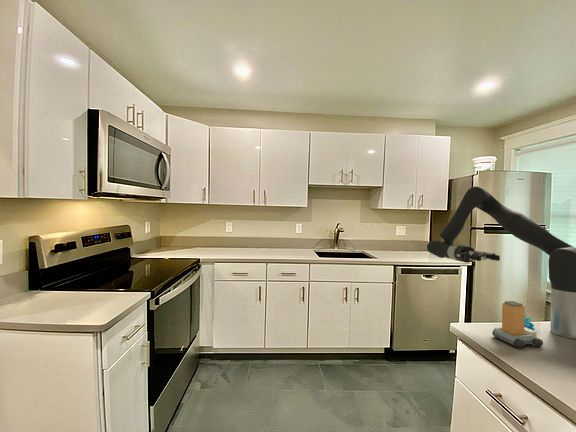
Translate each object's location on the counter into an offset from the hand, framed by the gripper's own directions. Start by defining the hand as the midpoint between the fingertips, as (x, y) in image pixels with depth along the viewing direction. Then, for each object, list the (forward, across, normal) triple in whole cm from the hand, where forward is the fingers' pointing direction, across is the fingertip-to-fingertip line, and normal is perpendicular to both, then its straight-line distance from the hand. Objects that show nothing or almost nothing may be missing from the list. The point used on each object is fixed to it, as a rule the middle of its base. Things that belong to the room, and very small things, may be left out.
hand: (489, 258), depth 119 cm
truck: (+14, -2, +28) cm, 31 cm away
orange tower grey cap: (+14, -3, +26) cm, 30 cm away
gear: (+4, +12, +28) cm, 31 cm away
